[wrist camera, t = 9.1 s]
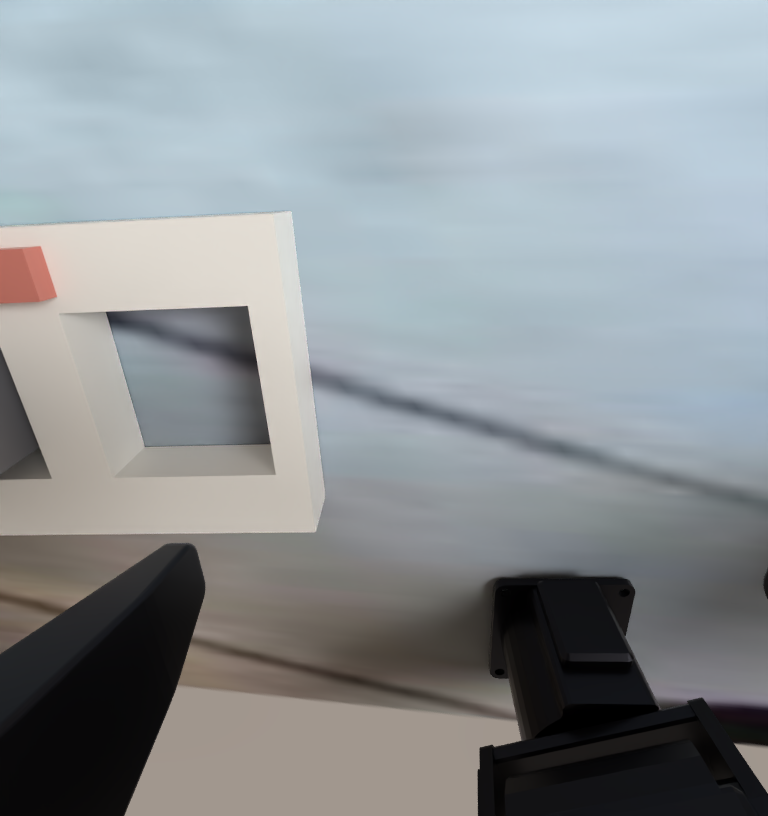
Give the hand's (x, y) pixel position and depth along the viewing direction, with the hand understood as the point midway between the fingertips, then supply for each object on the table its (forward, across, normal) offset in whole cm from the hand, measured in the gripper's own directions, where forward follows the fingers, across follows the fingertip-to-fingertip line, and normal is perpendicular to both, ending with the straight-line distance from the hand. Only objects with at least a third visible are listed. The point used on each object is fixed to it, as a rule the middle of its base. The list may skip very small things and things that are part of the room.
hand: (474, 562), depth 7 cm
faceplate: (+12, +14, +1) cm, 18 cm away
